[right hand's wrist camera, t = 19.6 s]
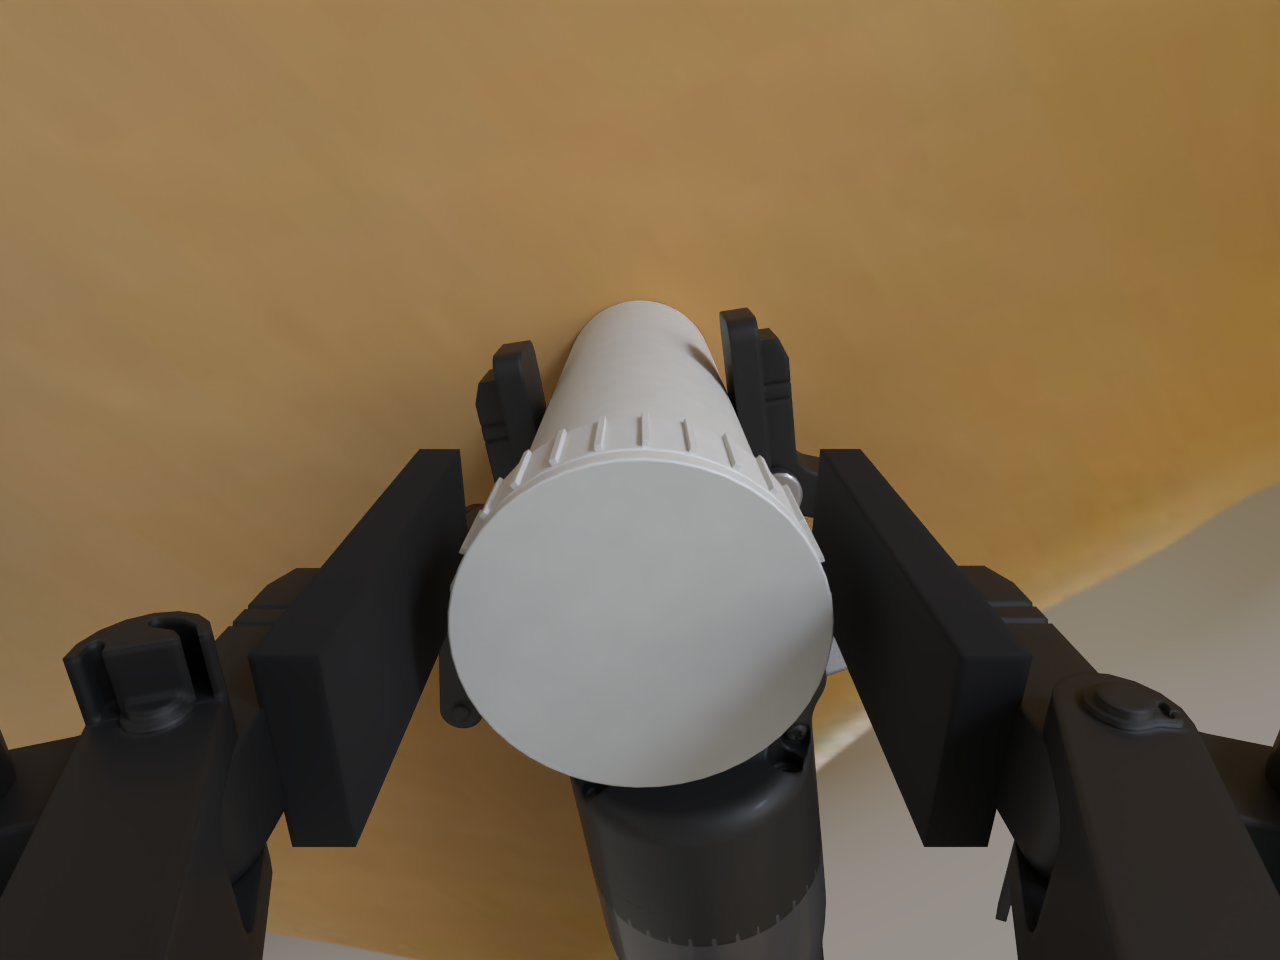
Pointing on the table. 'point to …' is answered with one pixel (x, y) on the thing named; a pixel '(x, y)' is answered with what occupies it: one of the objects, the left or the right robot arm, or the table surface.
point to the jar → (640, 374)
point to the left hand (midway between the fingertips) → (622, 334)
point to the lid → (640, 604)
